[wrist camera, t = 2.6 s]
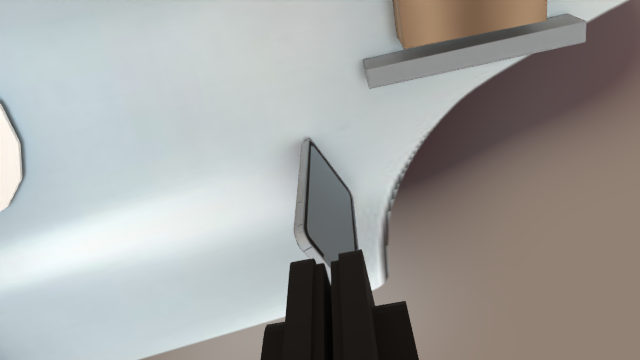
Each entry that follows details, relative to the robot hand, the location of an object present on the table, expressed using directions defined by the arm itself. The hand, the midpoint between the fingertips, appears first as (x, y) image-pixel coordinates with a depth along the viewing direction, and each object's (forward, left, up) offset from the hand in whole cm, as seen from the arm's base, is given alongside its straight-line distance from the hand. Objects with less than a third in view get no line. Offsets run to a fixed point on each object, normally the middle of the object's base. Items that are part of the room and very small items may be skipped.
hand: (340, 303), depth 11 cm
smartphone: (+3, +12, -31) cm, 33 cm away
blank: (-10, 0, -31) cm, 32 cm away
